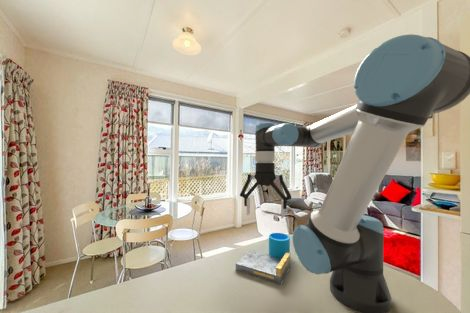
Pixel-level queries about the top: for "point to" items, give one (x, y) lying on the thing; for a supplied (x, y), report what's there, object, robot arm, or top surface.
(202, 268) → the top surface
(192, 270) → the top surface
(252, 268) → the ledge
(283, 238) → the mug
